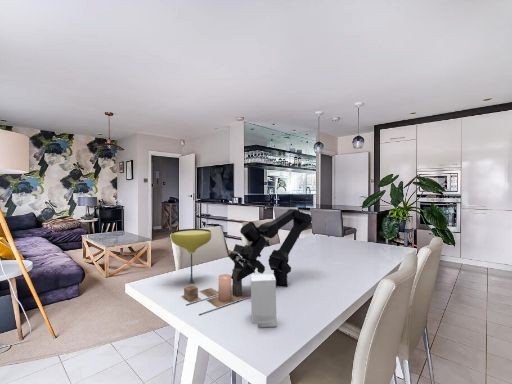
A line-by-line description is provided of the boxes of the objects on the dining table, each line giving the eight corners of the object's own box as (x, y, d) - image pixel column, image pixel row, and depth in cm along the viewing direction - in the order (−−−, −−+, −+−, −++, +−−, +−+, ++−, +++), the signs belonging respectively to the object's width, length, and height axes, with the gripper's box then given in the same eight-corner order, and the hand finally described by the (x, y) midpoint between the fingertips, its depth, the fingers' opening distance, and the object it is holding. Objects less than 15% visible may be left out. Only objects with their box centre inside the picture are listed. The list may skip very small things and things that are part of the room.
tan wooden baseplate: (239, 292, 112) (239, 265, 112) (251, 298, 106) (251, 269, 106) (206, 302, 102) (206, 273, 102) (217, 310, 96) (217, 278, 96)
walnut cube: (193, 294, 107) (193, 285, 107) (197, 297, 104) (197, 287, 104) (184, 297, 105) (184, 287, 105) (188, 300, 102) (188, 290, 102)
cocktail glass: (170, 281, 127) (170, 229, 126) (207, 277, 133) (207, 227, 133) (172, 295, 110) (172, 236, 109) (215, 289, 116) (214, 233, 116)
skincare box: (274, 317, 91) (274, 273, 91) (277, 328, 84) (277, 279, 84) (250, 318, 91) (250, 273, 91) (251, 328, 84) (251, 280, 84)
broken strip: (211, 290, 115) (211, 287, 115) (221, 296, 109) (221, 293, 109) (180, 299, 106) (180, 296, 106) (189, 306, 100) (189, 302, 100)
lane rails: (233, 293, 112) (233, 290, 112) (249, 301, 104) (249, 298, 104) (185, 308, 98) (185, 304, 98) (199, 319, 90) (199, 315, 90)
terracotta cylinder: (232, 296, 105) (232, 274, 105) (230, 302, 100) (230, 278, 100) (220, 296, 106) (220, 274, 106) (217, 301, 101) (217, 278, 101)
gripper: (231, 233, 116) (210, 263, 109) (259, 240, 102) (236, 274, 95) (245, 248, 121) (225, 278, 114) (274, 257, 107) (253, 290, 100)
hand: (234, 279), depth 106 cm, fingers closed on tan wooden baseplate, 3 cm apart
